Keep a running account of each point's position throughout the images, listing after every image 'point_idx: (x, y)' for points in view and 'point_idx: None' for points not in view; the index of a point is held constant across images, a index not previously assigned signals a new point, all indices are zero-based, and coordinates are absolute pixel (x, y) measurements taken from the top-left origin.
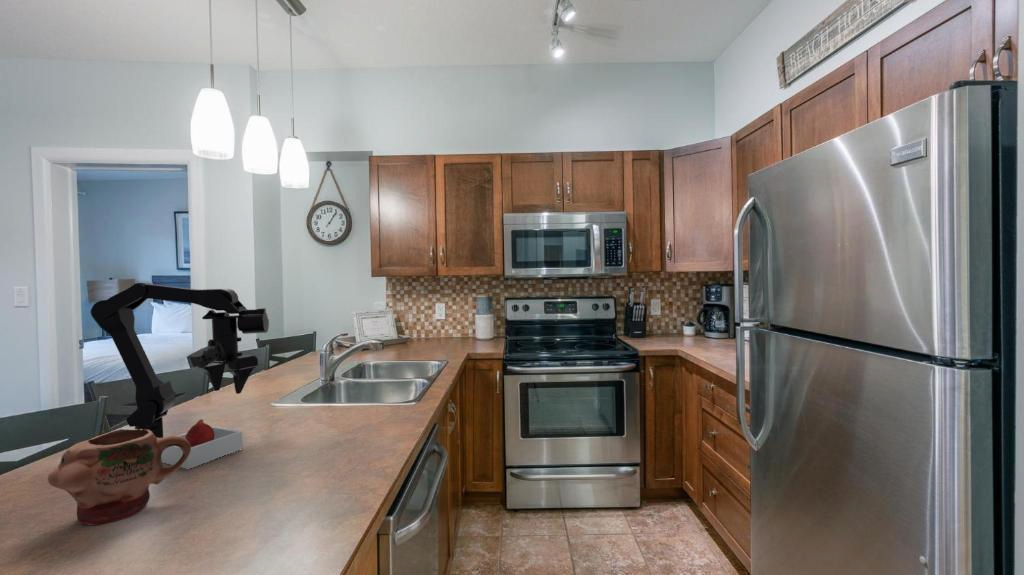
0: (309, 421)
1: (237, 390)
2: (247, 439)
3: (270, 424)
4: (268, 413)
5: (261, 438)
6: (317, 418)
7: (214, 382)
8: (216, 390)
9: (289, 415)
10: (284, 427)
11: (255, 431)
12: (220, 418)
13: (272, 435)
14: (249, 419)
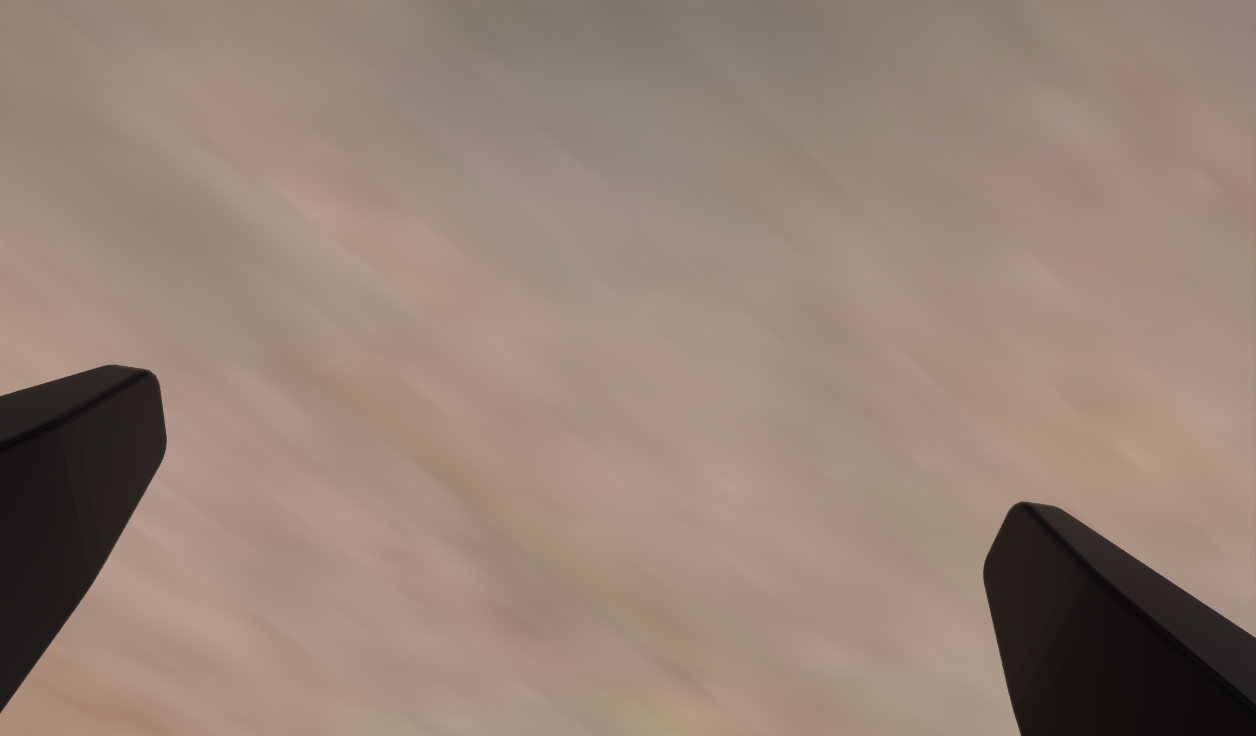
0: (210, 619)
1: (20, 401)
2: (300, 111)
3: (497, 512)
4: (788, 721)
5: (178, 170)
6: (218, 681)
7: (1152, 676)
8: (1007, 520)
9: (541, 706)
10: (277, 469)
11: (458, 332)
12: (1188, 569)
13: (159, 269)
14: (841, 586)
